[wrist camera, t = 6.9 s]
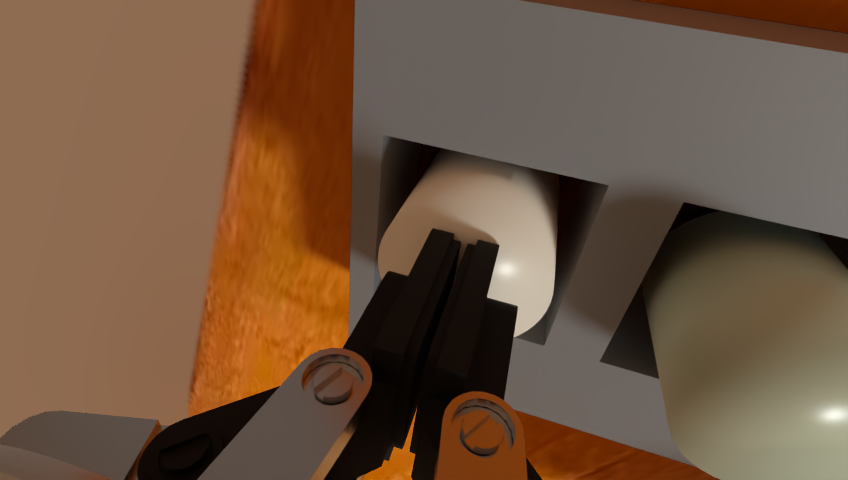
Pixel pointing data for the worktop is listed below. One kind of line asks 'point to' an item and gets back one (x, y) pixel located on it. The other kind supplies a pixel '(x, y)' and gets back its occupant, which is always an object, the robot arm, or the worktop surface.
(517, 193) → the ivory button
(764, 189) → the panel
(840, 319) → the sage button
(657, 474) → the worktop surface
